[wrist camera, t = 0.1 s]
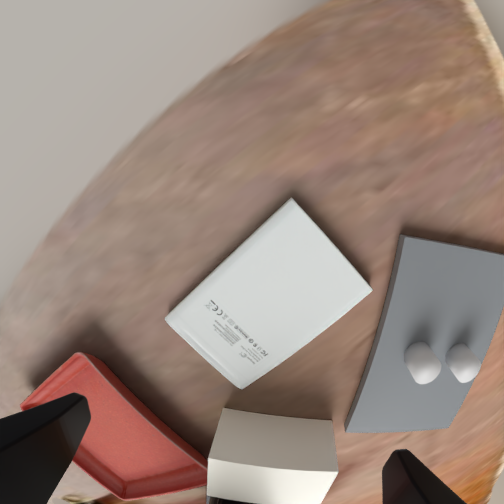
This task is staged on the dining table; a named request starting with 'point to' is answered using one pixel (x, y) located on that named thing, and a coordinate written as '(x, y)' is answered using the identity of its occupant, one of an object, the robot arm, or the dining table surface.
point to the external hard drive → (269, 297)
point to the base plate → (429, 336)
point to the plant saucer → (122, 434)
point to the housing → (271, 459)
